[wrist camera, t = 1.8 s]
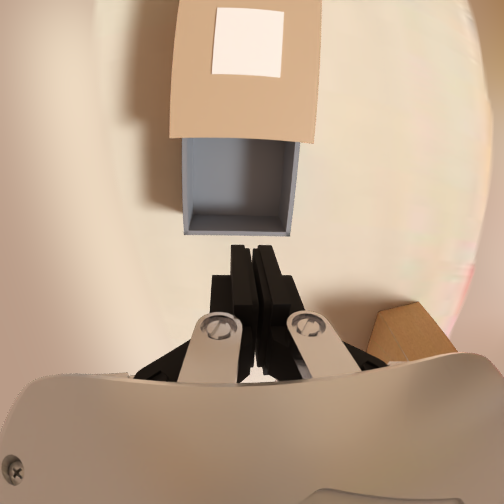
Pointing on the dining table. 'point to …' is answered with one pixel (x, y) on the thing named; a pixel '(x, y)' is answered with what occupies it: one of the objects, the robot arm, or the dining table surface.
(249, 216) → the tray
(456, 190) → the dining table surface
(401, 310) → the sandwich container
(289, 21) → the mailer sleeve
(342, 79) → the dining table surface
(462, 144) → the dining table surface
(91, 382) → the robot arm
